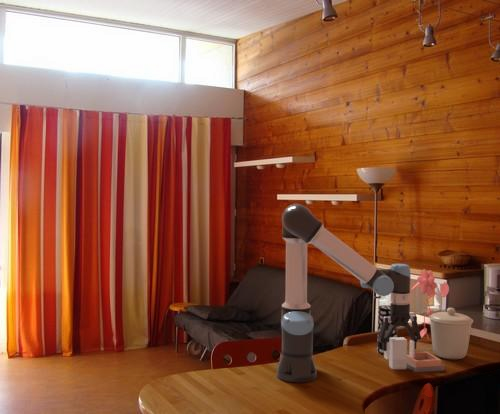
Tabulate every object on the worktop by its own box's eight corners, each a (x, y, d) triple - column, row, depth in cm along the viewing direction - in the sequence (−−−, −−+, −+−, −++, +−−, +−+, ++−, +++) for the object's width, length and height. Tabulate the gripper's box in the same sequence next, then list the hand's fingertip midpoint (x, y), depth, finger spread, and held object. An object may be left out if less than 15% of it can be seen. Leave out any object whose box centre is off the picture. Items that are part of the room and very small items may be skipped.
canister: (442, 347, 258) (443, 301, 257) (480, 357, 244) (481, 309, 243) (419, 354, 246) (420, 306, 246) (457, 365, 233) (459, 314, 232)
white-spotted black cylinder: (398, 355, 244) (400, 309, 243) (379, 355, 244) (380, 309, 243) (394, 350, 252) (395, 305, 252) (375, 349, 253) (376, 305, 252)
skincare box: (402, 366, 230) (403, 336, 230) (407, 369, 226) (408, 339, 225) (388, 366, 230) (389, 336, 229) (391, 370, 225) (392, 339, 225)
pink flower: (419, 335, 277) (420, 264, 275) (456, 350, 253) (458, 272, 252) (393, 339, 272) (394, 266, 270) (429, 354, 248) (430, 275, 246)
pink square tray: (414, 372, 223) (414, 362, 223) (399, 361, 236) (399, 352, 236) (444, 370, 226) (444, 360, 226) (427, 360, 239) (428, 350, 239)
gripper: (377, 306, 221) (376, 362, 222) (431, 303, 225) (430, 358, 226) (369, 302, 228) (368, 356, 229) (421, 299, 233) (420, 353, 234)
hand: (399, 357), depth 228 cm, fingers open, 10 cm apart
